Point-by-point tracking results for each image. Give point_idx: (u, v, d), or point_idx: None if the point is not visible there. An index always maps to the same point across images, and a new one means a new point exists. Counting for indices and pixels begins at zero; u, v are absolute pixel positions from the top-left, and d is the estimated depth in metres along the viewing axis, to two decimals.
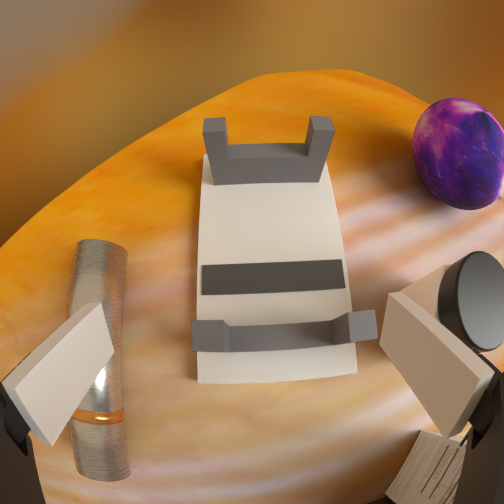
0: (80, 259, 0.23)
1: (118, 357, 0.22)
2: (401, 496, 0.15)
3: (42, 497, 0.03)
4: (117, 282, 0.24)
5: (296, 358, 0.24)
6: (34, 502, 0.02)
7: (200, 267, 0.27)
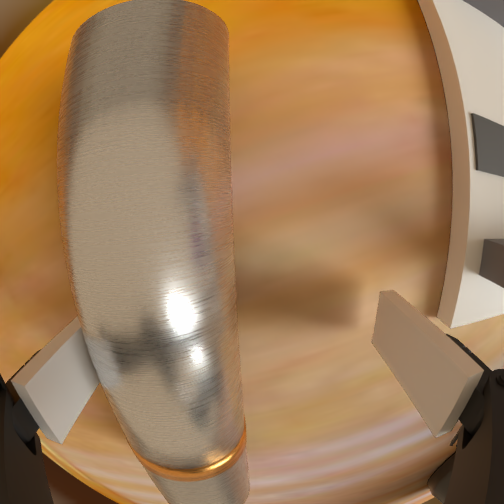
0: None
1: (171, 375, 0.07)
2: None
3: (50, 496, 0.03)
4: (107, 112, 0.05)
5: None
6: (42, 502, 0.03)
7: (470, 116, 0.09)
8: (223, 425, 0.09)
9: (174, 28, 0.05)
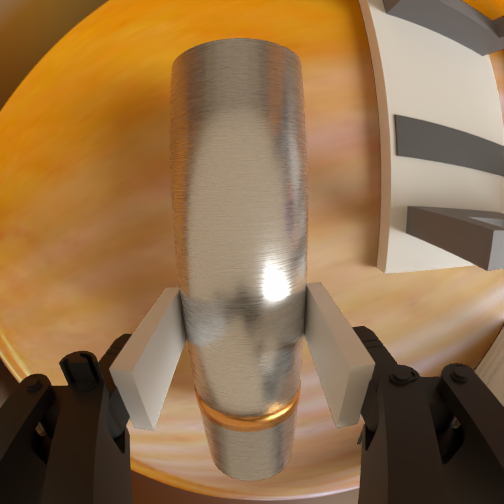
0: (194, 90, 0.09)
1: (305, 299, 0.13)
2: (488, 381, 0.21)
3: (131, 498, 0.04)
4: (301, 134, 0.10)
5: None
6: None
7: (392, 116, 0.15)
8: None
9: None
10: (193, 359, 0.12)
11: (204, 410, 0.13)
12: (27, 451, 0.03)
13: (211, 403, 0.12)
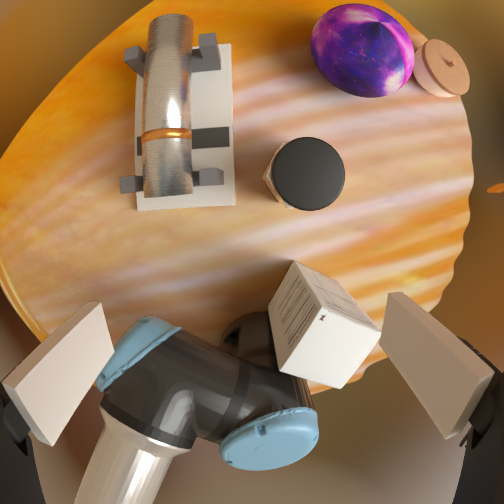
0: (152, 30, 0.23)
1: (187, 86, 0.27)
2: (271, 310, 0.41)
3: (42, 497, 0.03)
4: (184, 36, 0.24)
5: (194, 192, 0.38)
6: (34, 502, 0.02)
7: (136, 138, 0.36)
8: None
9: (192, 26, 0.25)
10: (142, 112, 0.27)
11: (142, 138, 0.28)
12: None
13: (144, 128, 0.27)
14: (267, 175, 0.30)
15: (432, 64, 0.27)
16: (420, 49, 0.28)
